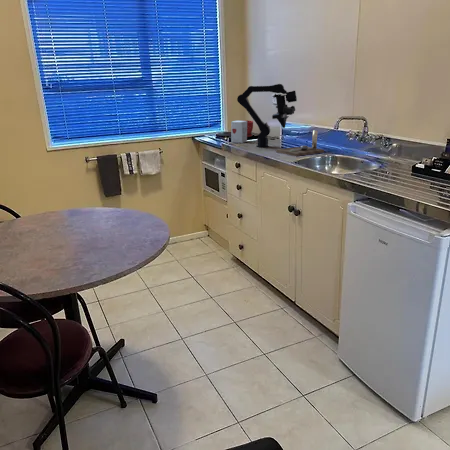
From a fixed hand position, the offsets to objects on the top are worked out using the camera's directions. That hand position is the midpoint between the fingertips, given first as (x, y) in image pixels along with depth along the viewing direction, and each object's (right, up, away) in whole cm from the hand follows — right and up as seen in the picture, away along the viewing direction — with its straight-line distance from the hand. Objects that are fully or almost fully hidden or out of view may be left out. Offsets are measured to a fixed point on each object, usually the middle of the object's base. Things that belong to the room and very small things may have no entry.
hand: (284, 127), depth 282 cm
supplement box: (-29, -4, +29) cm, 41 cm away
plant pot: (-24, +6, +56) cm, 61 cm away
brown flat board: (+8, -19, -15) cm, 25 cm away
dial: (+10, -17, -17) cm, 26 cm away
